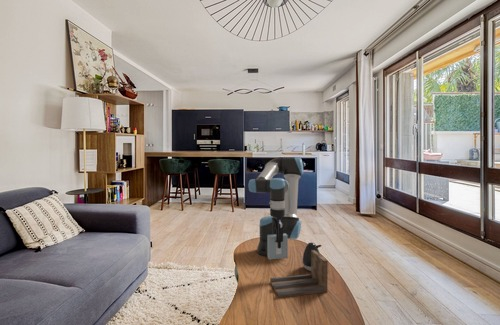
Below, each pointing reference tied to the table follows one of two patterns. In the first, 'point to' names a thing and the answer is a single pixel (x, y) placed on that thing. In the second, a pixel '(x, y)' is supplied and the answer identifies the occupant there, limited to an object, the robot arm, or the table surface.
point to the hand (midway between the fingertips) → (277, 252)
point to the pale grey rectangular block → (272, 247)
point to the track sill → (304, 279)
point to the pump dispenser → (309, 255)
